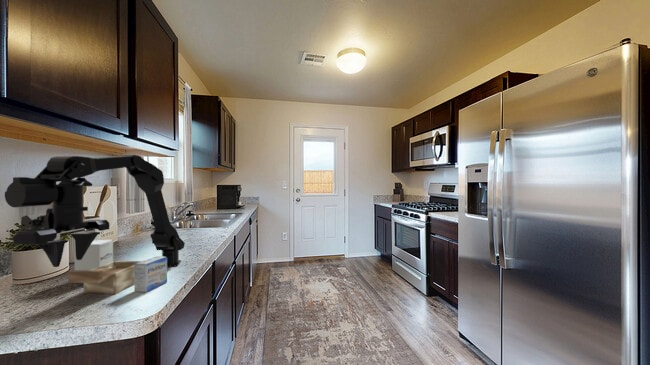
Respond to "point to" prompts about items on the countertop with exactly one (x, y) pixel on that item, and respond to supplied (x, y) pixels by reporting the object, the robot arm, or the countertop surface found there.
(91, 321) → the countertop surface
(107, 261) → the supplement box
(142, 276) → the medicine box
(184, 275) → the countertop surface
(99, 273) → the lid
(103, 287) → the birch box
